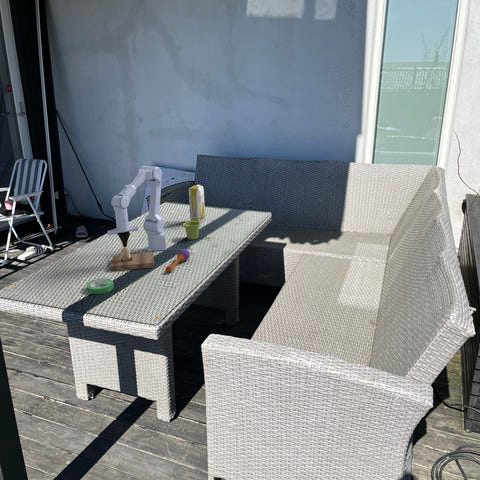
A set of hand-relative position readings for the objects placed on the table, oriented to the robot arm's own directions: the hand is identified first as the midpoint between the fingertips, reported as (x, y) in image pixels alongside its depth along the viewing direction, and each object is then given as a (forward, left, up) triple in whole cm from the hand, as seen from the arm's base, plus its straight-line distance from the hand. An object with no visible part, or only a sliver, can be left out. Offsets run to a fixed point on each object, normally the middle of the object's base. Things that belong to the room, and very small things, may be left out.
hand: (124, 246), depth 225 cm
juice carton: (-41, -61, -8) cm, 74 cm away
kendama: (-25, +10, -9) cm, 28 cm away
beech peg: (0, +3, -8) cm, 9 cm away
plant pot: (-35, -30, -9) cm, 47 cm away
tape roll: (+10, +29, -9) cm, 32 cm away
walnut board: (-3, +3, -8) cm, 9 cm away
